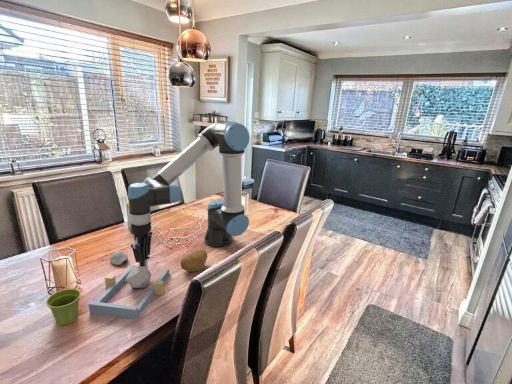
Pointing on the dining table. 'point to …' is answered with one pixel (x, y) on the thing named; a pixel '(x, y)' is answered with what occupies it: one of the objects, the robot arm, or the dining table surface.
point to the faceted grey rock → (138, 277)
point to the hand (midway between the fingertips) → (144, 273)
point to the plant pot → (64, 305)
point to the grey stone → (118, 257)
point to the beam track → (124, 310)
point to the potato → (194, 261)
